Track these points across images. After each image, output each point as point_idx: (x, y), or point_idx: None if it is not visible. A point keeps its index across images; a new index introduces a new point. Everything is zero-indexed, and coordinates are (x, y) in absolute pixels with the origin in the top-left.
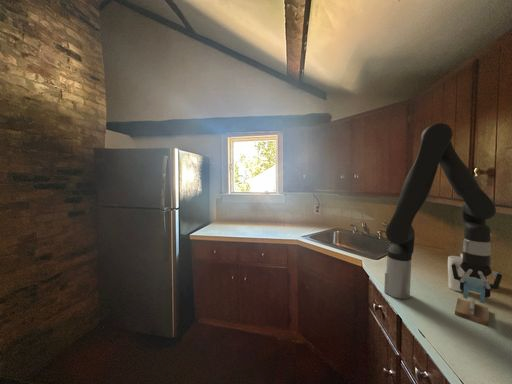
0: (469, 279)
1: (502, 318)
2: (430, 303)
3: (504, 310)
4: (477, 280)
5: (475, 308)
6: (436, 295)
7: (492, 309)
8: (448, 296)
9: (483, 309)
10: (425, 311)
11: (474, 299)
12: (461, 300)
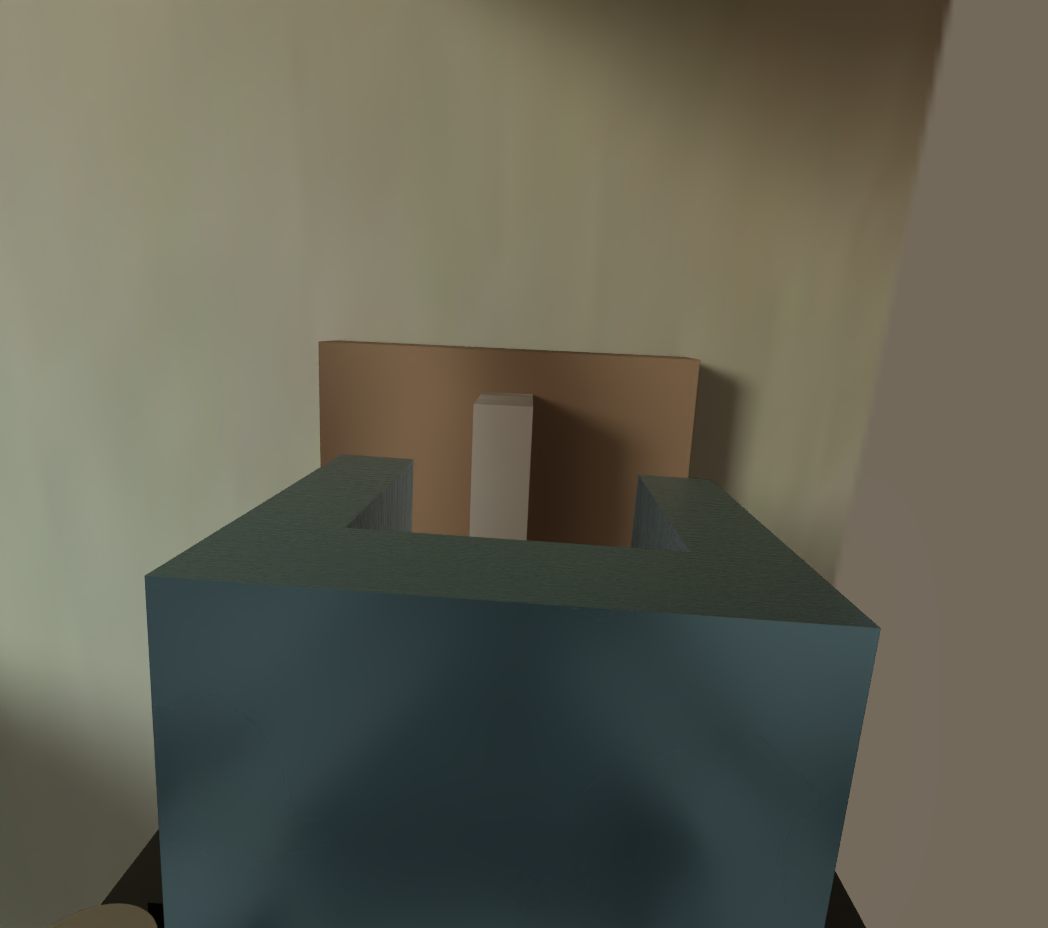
0: (296, 865)
1: (812, 459)
2: (72, 664)
3: (888, 151)
4: (566, 790)
5: (539, 536)
6: (69, 331)
7: (742, 248)
8: (211, 229)
9: (630, 490)
10: (82, 899)
11: (524, 459)
12: (370, 385)
